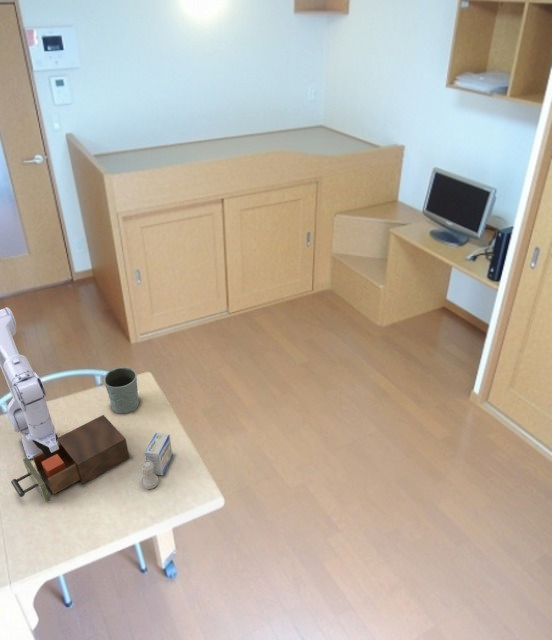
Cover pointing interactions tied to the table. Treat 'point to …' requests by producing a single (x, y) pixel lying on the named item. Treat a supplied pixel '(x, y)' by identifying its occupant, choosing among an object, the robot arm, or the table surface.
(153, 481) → the rook chess piece
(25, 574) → the table surface
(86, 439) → the cabinet
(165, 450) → the medicine box
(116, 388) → the grey-green pot
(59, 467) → the block
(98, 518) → the table surface
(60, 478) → the drawer
